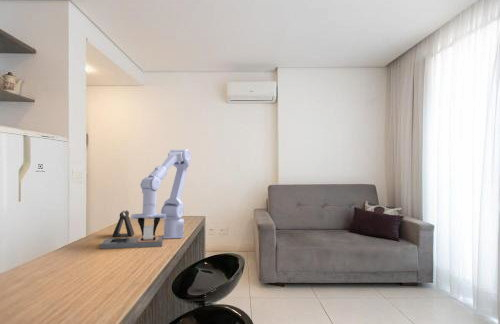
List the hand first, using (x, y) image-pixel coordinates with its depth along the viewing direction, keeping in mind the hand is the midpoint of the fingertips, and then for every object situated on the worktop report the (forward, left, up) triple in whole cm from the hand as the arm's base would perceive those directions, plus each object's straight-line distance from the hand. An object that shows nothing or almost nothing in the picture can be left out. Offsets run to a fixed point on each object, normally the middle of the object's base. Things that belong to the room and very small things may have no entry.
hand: (148, 235), depth 126 cm
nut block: (0, 0, -3) cm, 3 cm away
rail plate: (+6, 0, -4) cm, 7 cm away
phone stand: (+13, -20, -4) cm, 24 cm away
